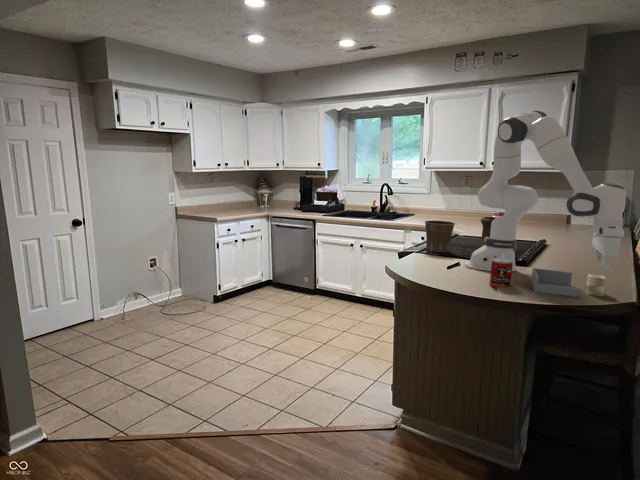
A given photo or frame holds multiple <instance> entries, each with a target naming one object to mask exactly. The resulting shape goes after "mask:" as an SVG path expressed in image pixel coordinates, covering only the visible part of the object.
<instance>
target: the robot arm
mask: <svg viewBox="0 0 640 480" xmlns="http://www.w3.org/2000/svg"><path fill="white" fill-rule="evenodd" d="M527 140H530V141H532V142H533V145H534V146H535V148H536V150H537V152H538V154H539V156H540V158H541V159H542V161H544V163H545V164H546V165H547V166H548V167H551V168H553V169H555V170H557V171H559V172H561V174H563V175H564V176H565V178H566V179H567V182H568V183H569V184H570V186H571V188H572V190H573V192H574V193H573V194H571V195H570V196H569V197H568V199H566V200H567V201H566V209H567V211H568V212H569V213H570V214H571V215H573V216H575V217H577V218H578V217H580V218H584V217H589V216H592V217H593V225H592V232H593V234H592V235H593V237H592V241H591V246H592V248H594V249H595V261H596V262H600V263H601V262H602V267H603V268H606V269H609V268H610V264H611V262H612V260H613V259H616V258H618V256H619V253H620V250H621V244H622V238H624V236H625V230H624V228H623V222H624V217H623V213H624V211H625V209H626V201H627V199H626V197H627V194H626V192H627V191H626V189H625V188H624V186H621V185H620V184H616V183H609V182H603V183H600V184H599V185H597V186H594V185H593V184H592V182H591V181H590V179H589V176H587V174H586V172H585V170H584V169H583V167H582V166H581V164H580V162H579V160H578V157H577V156H576V153H575V151H574V148H573V145H572V144H571V142H570V139H569V137H568V136H567V134H566V131H565V130H564V129H563V127H562V126H561V124H559V122H558V121H557V119H555V118H554V117H553V116H548V115H547V113H546V112H544V111H541V110H532V111H525V112H521V113H519V114H516V115H512V116H509V117H506V118H504V119H503V120H501V122H499V124H498V127H497V134H496V135H495V140H494V144H493V145H494V147H493V168H492V173H491V177H490V179H489V180H488V181H487V183H485V184H484V185H483V186H482V187H481V188H480V189H479V191H478V196H477V198H478V202H479V203H480V205H481V206H483V207H484V206H485V207H489V208H492V209H502V210H503V209H504V214H503V215H500V216H496V217H497V218H495V219H494V220H493V221H492V223H491V232H490V237H489V238H488V237H485V239H484V240H485V245H484V246H482V245H481V247H479V248H477V249H475V250H474V251H473V252H472V253H471V256H470V259H469V260H466V261H465V264H464V265H465V267H466V268H468V269H475V270H480V271H487V272H491V264H492V259H493V258H507V259H510V260H512V261H513V266H512V272H516V271H517V267H516V259H515V258H516V256H515V253H516V250H517V244H518V243H517V233H518V228H519V223H520V221H521V219H522V218H523V216H524V215H525V214H526V213H527V212H529V211H531V210H532V209H534V207H535V206H536V205H537V203H538V200H539V195H538V192H537V191H536V189H535V188H533V187H530V186H525V185H518V184H517V185H515V184H514V185H513V184H508V181H509V179H510V180H511V179H512V178H515V177H516V176H517V175H519V174H520V172H521V170H522V168H521V167H522V165H521V164H522V143H523V142H524V141H527ZM603 256H604V257H603Z"/></svg>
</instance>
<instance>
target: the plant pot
mask: <svg viewBox="0 0 640 480" xmlns="http://www.w3.org/2000/svg"><path fill="white" fill-rule="evenodd" d="M424 224H425V231H426V232H425V233H426V237H425V239H426V240H425V242H426V250H427V251H428V252H431V253H442V254H443V253H448V252H450V247H451V241H452V236H453V231H454V227H455V224H456V223H455V222H453V221H445V220H425V221H424Z"/></svg>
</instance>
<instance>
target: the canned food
mask: <svg viewBox="0 0 640 480" xmlns="http://www.w3.org/2000/svg"><path fill="white" fill-rule="evenodd" d="M512 266H513V261H512V260H510V259H507V258H493V259H492V264H491V271H490V277H489V286H490V287H491V288H494V289H498V287H500V288H508V287H510V286H511V283H512V282H511V281H512V274H513V271H512Z"/></svg>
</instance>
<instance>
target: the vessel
mask: <svg viewBox="0 0 640 480" xmlns="http://www.w3.org/2000/svg"><path fill="white" fill-rule="evenodd" d="M497 217H498V216H494V217H493V216H483V217H481V218H480V223H481V224H482V231H481V232H482V233H481V247H482V246H484V245H485V240H484V239H485V237H488V238H489V237H490V232H491V223H492V221H493V220H494V219H495V218H497Z"/></svg>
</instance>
